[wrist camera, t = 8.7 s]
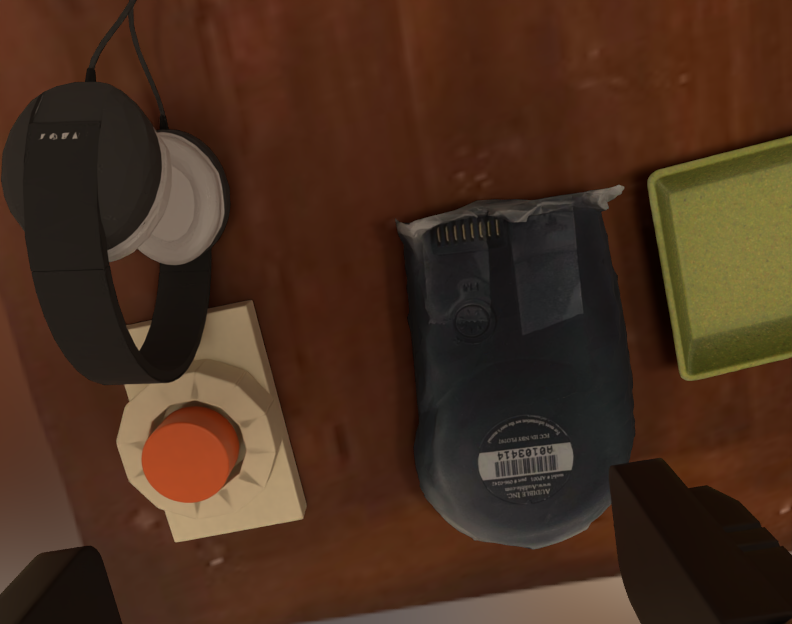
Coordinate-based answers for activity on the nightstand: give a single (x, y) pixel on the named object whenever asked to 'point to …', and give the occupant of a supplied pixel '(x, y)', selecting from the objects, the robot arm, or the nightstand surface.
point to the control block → (246, 411)
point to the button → (190, 454)
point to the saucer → (727, 257)
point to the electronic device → (518, 365)
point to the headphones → (114, 222)
